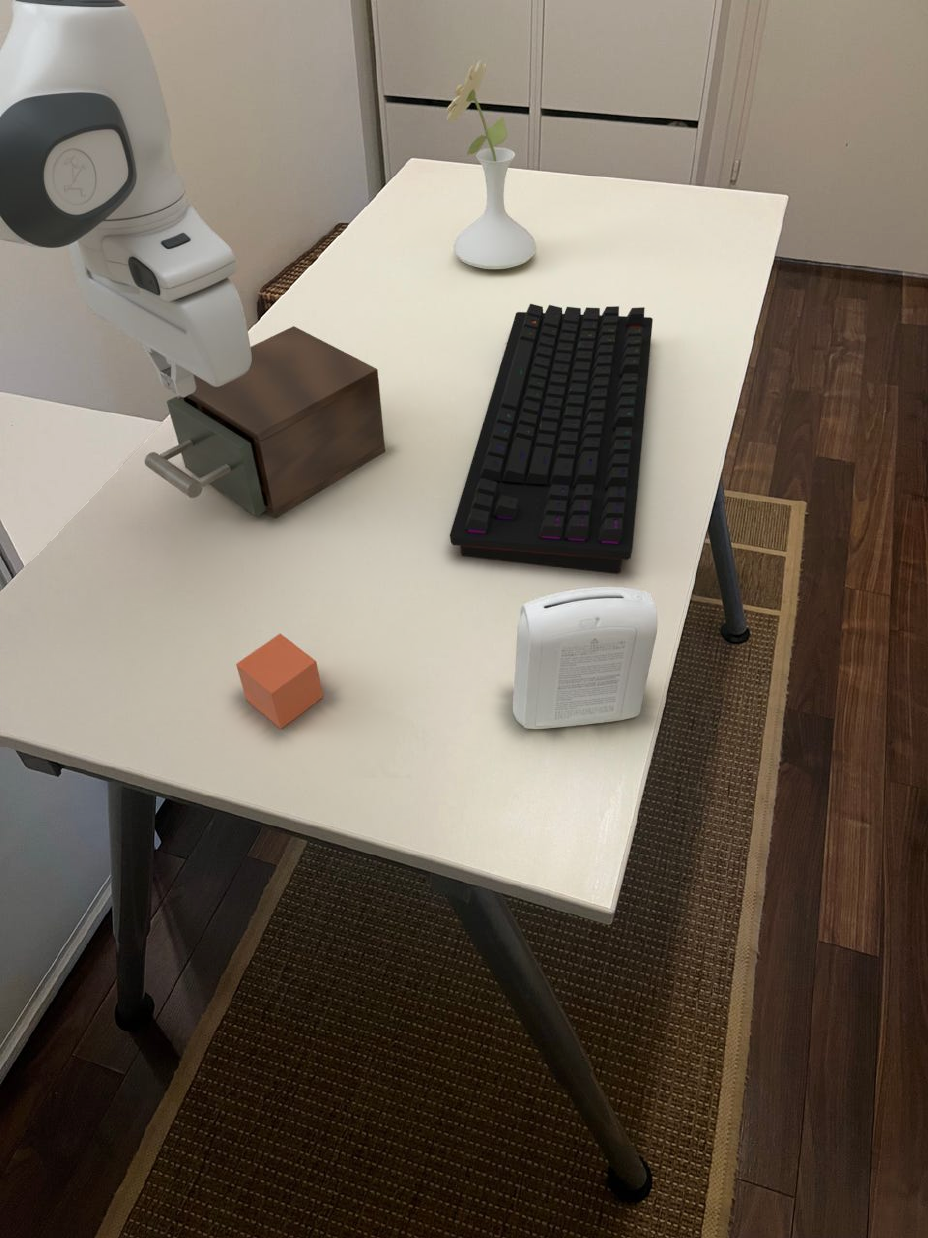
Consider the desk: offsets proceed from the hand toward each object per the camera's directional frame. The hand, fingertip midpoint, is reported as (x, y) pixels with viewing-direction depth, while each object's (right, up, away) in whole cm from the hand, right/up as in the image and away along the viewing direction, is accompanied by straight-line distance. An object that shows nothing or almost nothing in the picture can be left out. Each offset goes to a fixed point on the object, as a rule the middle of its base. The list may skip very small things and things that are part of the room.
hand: (179, 389), depth 82 cm
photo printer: (+34, -28, -9) cm, 45 cm away
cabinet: (+7, -4, +15) cm, 17 cm away
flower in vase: (+29, +29, +46) cm, 62 cm away
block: (+11, -27, -8) cm, 30 cm away
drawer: (+4, -6, +12) cm, 14 cm away
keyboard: (+36, -1, +17) cm, 40 cm away
